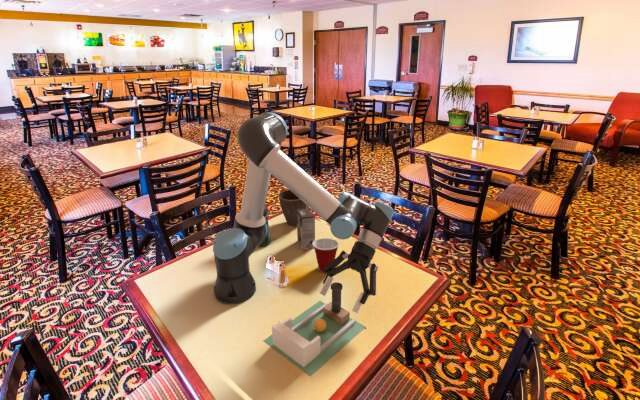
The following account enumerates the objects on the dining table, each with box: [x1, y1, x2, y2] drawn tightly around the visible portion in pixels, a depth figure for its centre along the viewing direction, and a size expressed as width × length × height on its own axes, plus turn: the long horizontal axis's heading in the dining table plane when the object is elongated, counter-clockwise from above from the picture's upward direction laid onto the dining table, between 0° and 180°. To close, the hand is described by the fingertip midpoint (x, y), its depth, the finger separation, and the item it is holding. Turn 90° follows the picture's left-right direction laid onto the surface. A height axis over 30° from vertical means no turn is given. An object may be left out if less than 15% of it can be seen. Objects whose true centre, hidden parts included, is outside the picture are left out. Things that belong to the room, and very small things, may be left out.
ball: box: [314, 319, 326, 332], centre depth 117 cm, size 4×4×4 cm
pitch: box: [262, 300, 367, 377], centre depth 116 cm, size 20×26×2 cm
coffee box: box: [296, 207, 316, 251], centre depth 168 cm, size 9×6×16 cm
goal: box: [271, 316, 321, 367], centre depth 109 cm, size 13×7×7 cm, turn 48°
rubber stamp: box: [323, 281, 351, 326], centre depth 121 cm, size 8×4×12 cm, turn 48°
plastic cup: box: [312, 237, 340, 273], centre depth 150 cm, size 11×11×12 cm
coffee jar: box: [258, 205, 272, 247], centre depth 169 cm, size 10×8×19 cm
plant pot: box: [277, 189, 308, 227], centre depth 188 cm, size 15×15×16 cm
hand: (337, 303), depth 120 cm, fingers open, 13 cm apart
